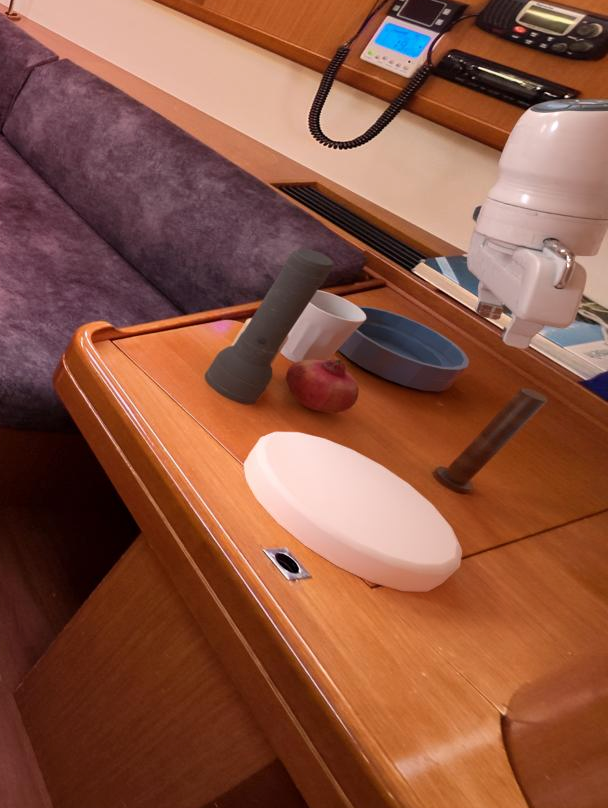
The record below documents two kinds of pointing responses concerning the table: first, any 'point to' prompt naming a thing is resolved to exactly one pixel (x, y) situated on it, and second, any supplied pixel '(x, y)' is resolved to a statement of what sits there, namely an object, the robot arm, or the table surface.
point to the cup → (322, 328)
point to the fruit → (322, 385)
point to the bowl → (404, 351)
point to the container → (352, 511)
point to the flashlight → (268, 328)
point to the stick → (490, 441)
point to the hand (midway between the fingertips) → (499, 330)
